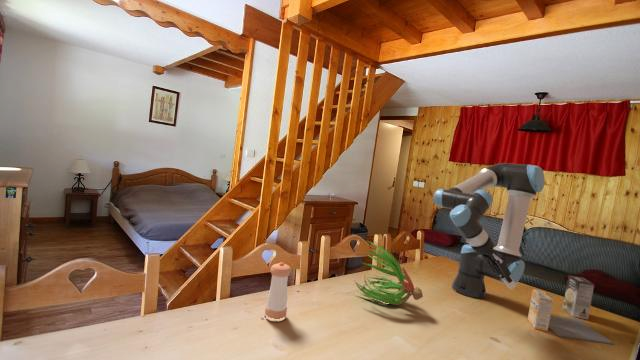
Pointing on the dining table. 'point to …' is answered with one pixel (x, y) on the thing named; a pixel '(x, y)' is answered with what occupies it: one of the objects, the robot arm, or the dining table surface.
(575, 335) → the mat
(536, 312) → the supplement box
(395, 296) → the decorative plant
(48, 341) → the dining table surface
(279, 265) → the pepper shaker
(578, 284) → the coffee box
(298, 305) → the dining table surface
